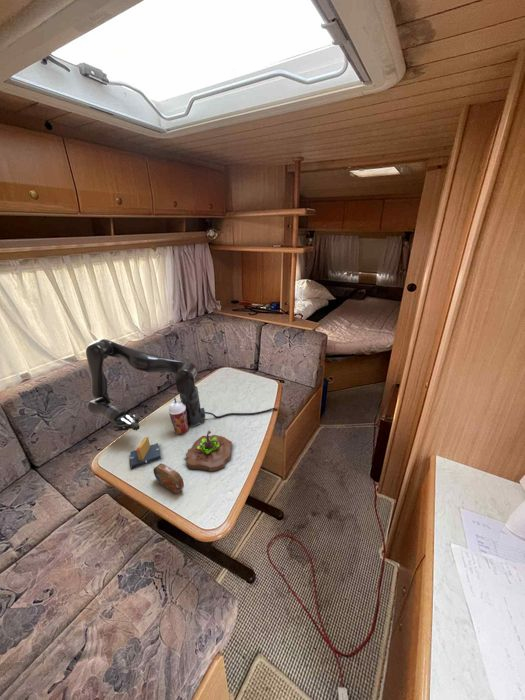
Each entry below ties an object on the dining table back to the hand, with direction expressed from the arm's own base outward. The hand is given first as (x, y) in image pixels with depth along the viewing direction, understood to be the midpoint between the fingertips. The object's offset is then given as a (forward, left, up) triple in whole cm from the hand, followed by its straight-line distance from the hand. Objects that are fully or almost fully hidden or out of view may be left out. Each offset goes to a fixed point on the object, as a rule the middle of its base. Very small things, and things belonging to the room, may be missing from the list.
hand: (137, 428), depth 124 cm
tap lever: (-2, +7, -10) cm, 12 cm away
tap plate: (-2, +7, -12) cm, 14 cm away
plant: (-31, +13, -12) cm, 35 cm away
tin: (-14, +25, -12) cm, 31 cm away
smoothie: (-18, -7, -12) cm, 22 cm away
